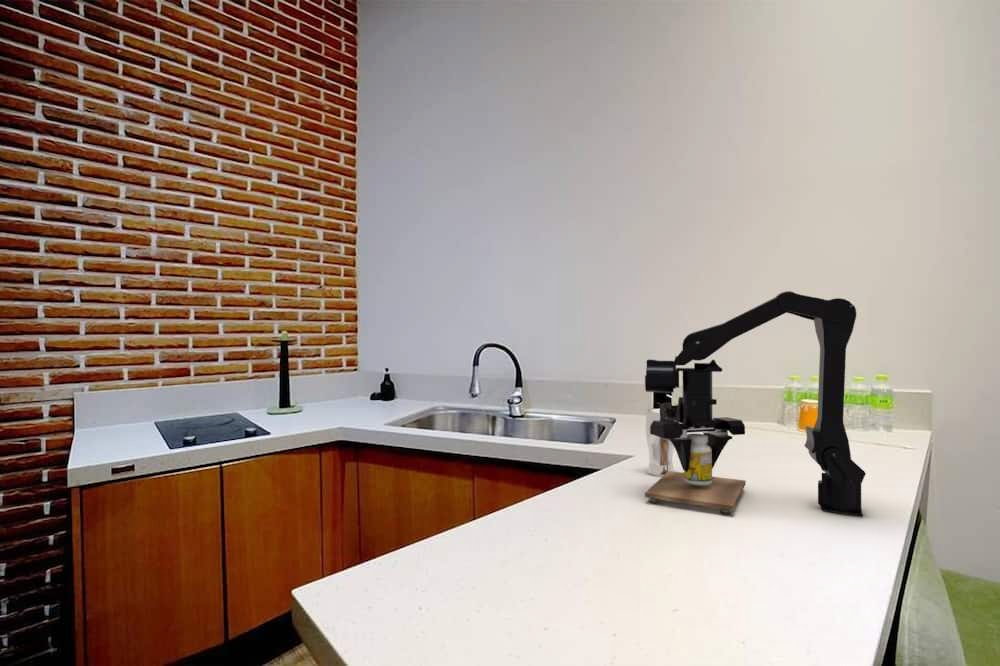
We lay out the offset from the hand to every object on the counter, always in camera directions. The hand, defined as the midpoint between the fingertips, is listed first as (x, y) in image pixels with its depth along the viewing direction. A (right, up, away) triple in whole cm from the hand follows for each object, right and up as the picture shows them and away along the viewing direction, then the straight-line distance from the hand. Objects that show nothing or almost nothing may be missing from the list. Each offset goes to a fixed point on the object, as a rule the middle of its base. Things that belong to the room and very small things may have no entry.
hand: (697, 469), depth 110 cm
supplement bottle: (0, -3, 0) cm, 3 cm away
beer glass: (-2, -6, +19) cm, 20 cm away
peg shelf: (0, -5, 0) cm, 5 cm away
